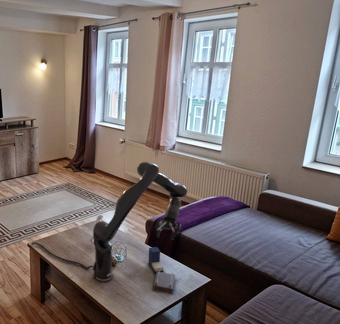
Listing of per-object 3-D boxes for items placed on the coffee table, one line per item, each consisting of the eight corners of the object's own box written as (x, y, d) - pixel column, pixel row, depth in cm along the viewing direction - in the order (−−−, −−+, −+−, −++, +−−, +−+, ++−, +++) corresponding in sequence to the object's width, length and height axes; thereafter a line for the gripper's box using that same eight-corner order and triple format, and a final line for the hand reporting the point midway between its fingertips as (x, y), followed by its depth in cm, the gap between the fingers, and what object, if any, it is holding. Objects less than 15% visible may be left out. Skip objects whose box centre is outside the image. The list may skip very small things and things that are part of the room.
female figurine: (103, 250, 216) (103, 222, 210) (88, 240, 228) (87, 214, 222) (115, 244, 222) (116, 217, 217) (100, 235, 234) (100, 209, 229)
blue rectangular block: (148, 264, 200) (149, 247, 197) (156, 263, 201) (156, 246, 198) (155, 274, 190) (156, 257, 187) (163, 273, 191) (164, 256, 188)
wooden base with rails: (153, 290, 177) (153, 283, 176) (156, 276, 189) (156, 269, 188) (172, 293, 174) (172, 286, 173) (174, 279, 186) (175, 272, 185)
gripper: (158, 209, 199) (151, 233, 191) (181, 211, 191) (174, 236, 183) (162, 216, 204) (155, 239, 196) (185, 218, 196) (178, 243, 187)
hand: (164, 238), depth 189 cm, fingers open, 8 cm apart
